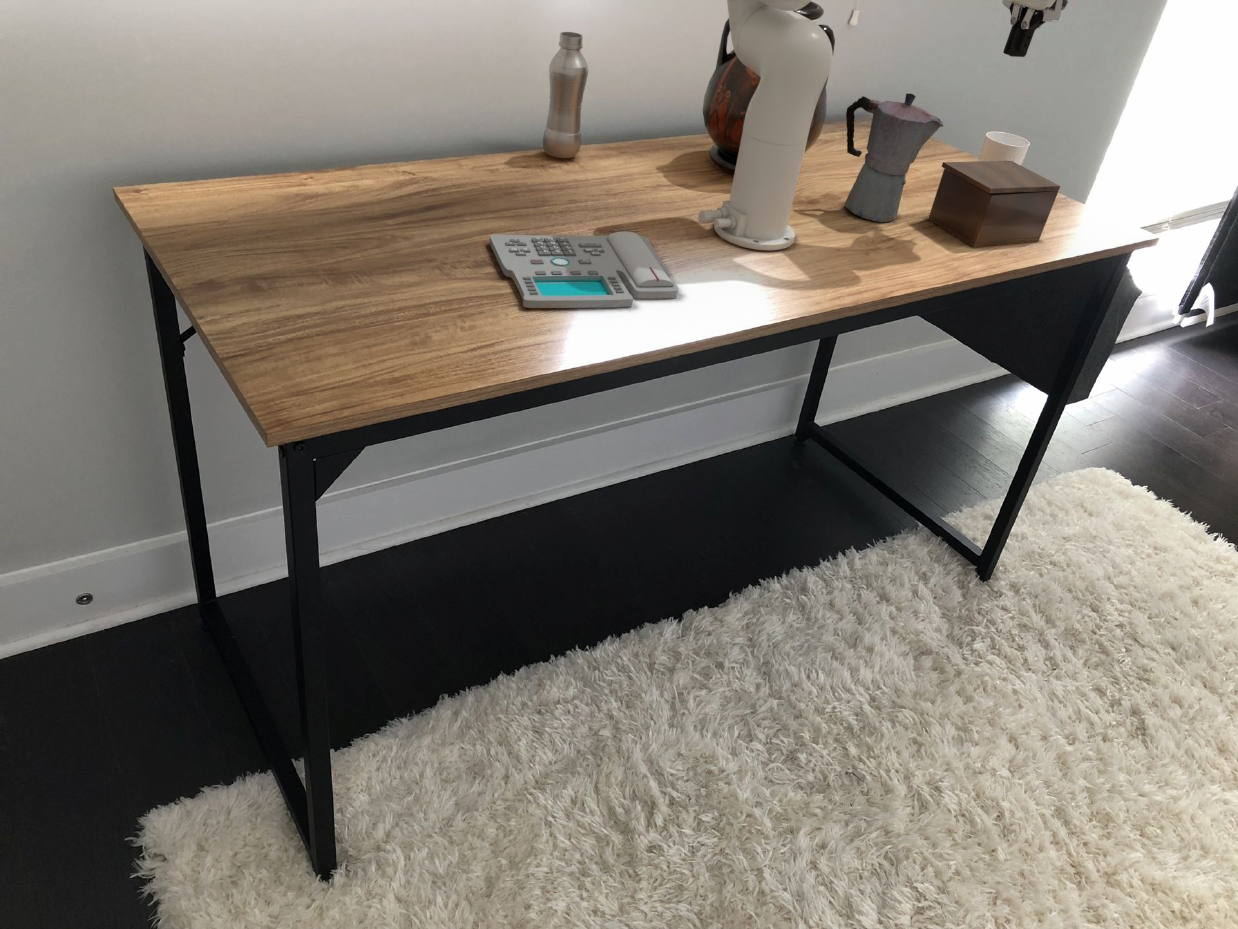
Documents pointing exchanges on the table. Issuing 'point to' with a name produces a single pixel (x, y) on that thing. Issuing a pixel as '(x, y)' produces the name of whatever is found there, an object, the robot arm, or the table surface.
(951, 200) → the box
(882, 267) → the table surface
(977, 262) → the table surface
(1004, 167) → the lid
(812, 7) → the amphora vase
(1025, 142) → the white cup
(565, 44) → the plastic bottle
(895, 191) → the moka pot
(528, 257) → the office telephone
